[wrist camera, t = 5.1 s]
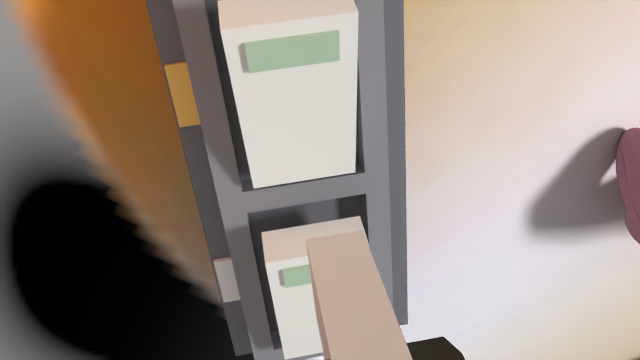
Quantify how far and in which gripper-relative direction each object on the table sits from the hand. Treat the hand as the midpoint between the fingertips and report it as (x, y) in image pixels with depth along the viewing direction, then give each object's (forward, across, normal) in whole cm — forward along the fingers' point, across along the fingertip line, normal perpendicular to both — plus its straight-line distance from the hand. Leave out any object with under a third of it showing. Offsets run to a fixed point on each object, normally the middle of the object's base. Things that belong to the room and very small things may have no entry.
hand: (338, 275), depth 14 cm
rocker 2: (+6, 0, +6) cm, 9 cm away
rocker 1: (+6, 0, -3) cm, 7 cm away
